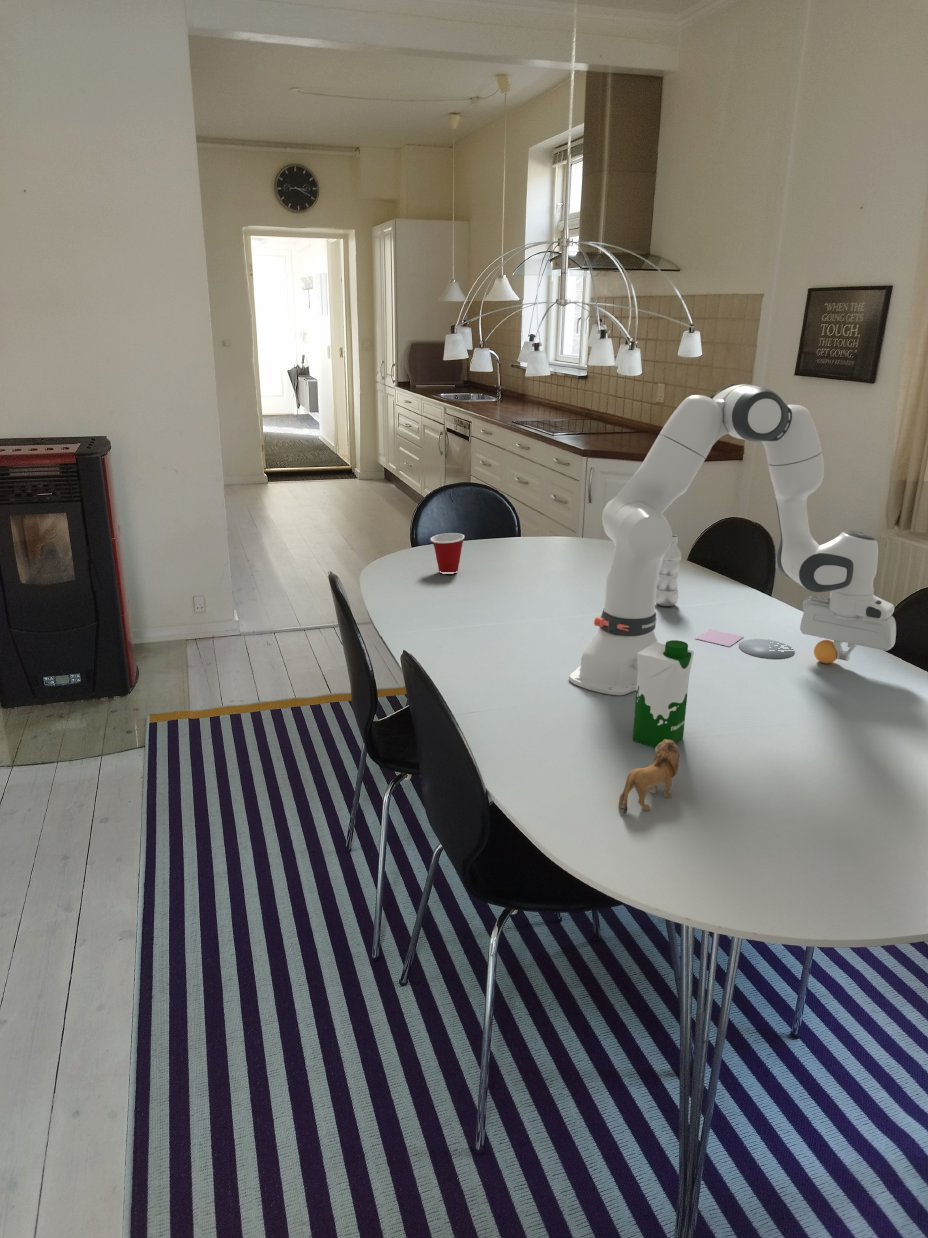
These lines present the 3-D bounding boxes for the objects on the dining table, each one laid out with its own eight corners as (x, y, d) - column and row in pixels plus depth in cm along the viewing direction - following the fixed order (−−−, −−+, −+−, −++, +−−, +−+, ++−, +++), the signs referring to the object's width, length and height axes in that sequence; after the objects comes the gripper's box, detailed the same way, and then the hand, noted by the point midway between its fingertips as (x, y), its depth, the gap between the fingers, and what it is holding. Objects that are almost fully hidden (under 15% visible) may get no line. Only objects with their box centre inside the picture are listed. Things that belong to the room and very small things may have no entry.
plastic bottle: (678, 609, 238) (684, 539, 232) (653, 607, 239) (658, 538, 233) (677, 602, 244) (683, 534, 238) (653, 601, 245) (658, 533, 239)
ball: (840, 658, 196) (825, 638, 197) (820, 670, 199) (806, 650, 200) (847, 652, 200) (832, 633, 201) (827, 664, 203) (813, 645, 204)
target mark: (783, 663, 200) (783, 662, 200) (729, 650, 208) (730, 649, 208) (802, 647, 210) (802, 647, 210) (750, 636, 218) (750, 635, 218)
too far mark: (729, 647, 210) (729, 646, 210) (695, 639, 216) (695, 638, 216) (743, 637, 217) (743, 636, 217) (710, 629, 222) (710, 629, 222)
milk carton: (668, 755, 157) (678, 653, 151) (625, 740, 163) (632, 642, 156) (689, 738, 164) (699, 640, 157) (647, 724, 169) (654, 629, 163)
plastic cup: (426, 569, 276) (426, 533, 272) (458, 567, 279) (458, 531, 275) (435, 578, 266) (435, 541, 262) (468, 576, 269) (469, 538, 265)
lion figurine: (656, 778, 149) (660, 732, 146) (683, 789, 146) (688, 741, 143) (610, 812, 139) (613, 762, 136) (638, 824, 135) (643, 773, 133)
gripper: (799, 597, 197) (793, 653, 202) (894, 614, 185) (885, 673, 189) (809, 591, 202) (802, 645, 206) (902, 607, 189) (893, 665, 194)
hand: (842, 659), depth 198 cm, fingers closed
